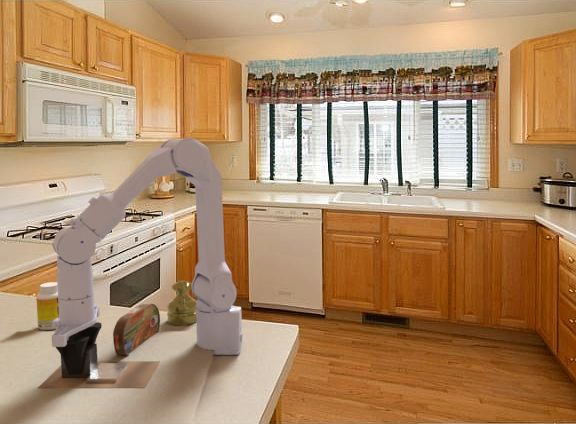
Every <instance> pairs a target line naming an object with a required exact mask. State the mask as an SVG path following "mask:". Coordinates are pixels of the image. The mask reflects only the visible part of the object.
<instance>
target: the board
mask: <svg viewBox="0 0 576 424" xmlns="http://www.w3.org/2000/svg"><path fill="white" fill-rule="evenodd" d="M97 362H98V366H99V364H100V363H128V367H127V368H126V369H125V371H124V372H123V374H122V375H121V376H120V378H119V379H118V380H117V382H87V378H62V370H61V365H60V366H59V367H57V369H56V370H55V371H54V372H52V373H51V374H50V375H49V376H48V377H47V378H46V379H45V380H44V381H43V382H42V383H41V384H40V385H39V386H38V387H37V389H145V388H146V387H147V385H148V383H149V381H151V379H152V376H153V375H154V374H155V372H156V369H157V368H158V366H159V365H160V363H161V361H158V360H157V361H156V360H154V361H153V360H151V361H150V360H149V361H148V360H146V361H145V360H144V361H143V360H142V361H139V360H138V361H135V360H134V361H133V360H131V361H129V360H127V361H126V360H125V361H124V360H123V361H120V360H117V361H116V360H115V361H114V360H112V361H111V360H110V361H107V360H105V361H103V360H99V361H98V360H97Z"/></svg>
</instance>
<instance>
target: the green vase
mask: <svg viewBox="0 0 576 424" xmlns="http://www.w3.org/2000/svg"><path fill="white" fill-rule="evenodd" d="M171 289H172V290H173V291H175V293H176V294H175V296H174V297H173V298H172V299H171V300H170V301H168V302H167V304H166V308H167V312H166V314H167V323H168V324H170V325H173V326H188V325H192V324H194V323H197V315H196V304H197V299H194V298H193V297H192V296H191V295H190V294H189V292H190V290H192V282H189V281H186V280H183V279H182V280H178V282H177V281H176V282H174V283H173V284H171Z"/></svg>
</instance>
